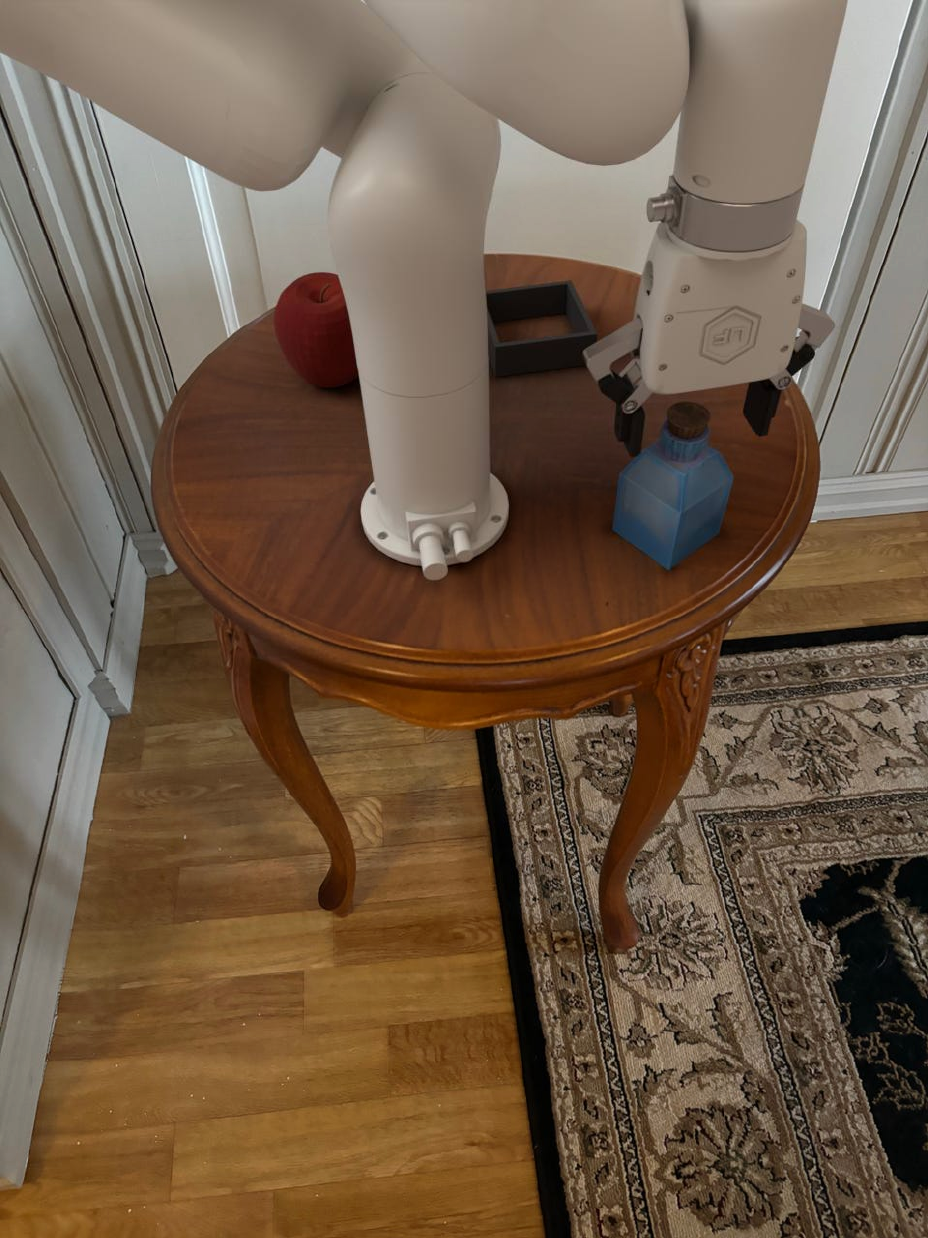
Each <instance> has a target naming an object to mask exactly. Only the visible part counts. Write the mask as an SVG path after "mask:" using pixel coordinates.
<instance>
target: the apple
mask: <svg viewBox="0 0 928 1238" xmlns="http://www.w3.org/2000/svg"><path fill="white" fill-rule="evenodd" d="M273 327H274V332H275V333H274V334H275V336H276V340H277V342H278V345H279V348H280V350H281V352H282V354H283V356H284V357H285V359H286V361H287V363H288V364H289V365H290V367H291V369H293V371H294V372H295V373H296V375H298V376H299V377H300V378H301V379H302V380H303V381H304V382H306V383H308V384H310V385H312V386H314V387H318V388H328V389H329V388H336V387H342V386H345V385H347V384H350V383H351V382H353V381H354V380H356V379H357V378H359V372H358V368H357V362H356V355H355V349H354V342H353V335H352V330H351V324H350V319H349V314H348V309H347V305H346V300H345V297H344V293H343V290H342V286H341V283H340V280H339V277H338V274H337V273H332V272H327V271H317V272H311V273H306V274H303V275H301V276H299V277H297V278H296V279H294V280H293V281H292V282H291V283H290V284H289V285H288V286H286V288H285V289H283V291H282V292H281V294H280V295H279V297H278V300H277V303H276V305H275V307H274V316H273Z"/></svg>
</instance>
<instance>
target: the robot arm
mask: <svg viewBox="0 0 928 1238" xmlns="http://www.w3.org/2000/svg"><path fill="white" fill-rule="evenodd" d="M848 1H849V0H363V1H362V0H0V53H1V54H2V55H4V56H6V57H8V58H10V59H12V60H14V61H16V62H19V63H20V64H22V65H25V66H27V67H28V68H31V69H32V70H33V71H36V72H38V73H40V74H42V75H44V76H45V77H48V78H50V79H52V80H54V81H56V82H58V83H60V84H61V85H63V86H65V87H66V88H68V89H70V90H72V91H74V92H75V93H77V94H79V95H80V96H82V97H84V98H86V99H87V100H89V101H91V103H93V104H95V105H97V106H98V107H100V108H102V109H103V110H105V111H106V112H108V113H109V114H111V115H112V116H114V117H116V118H118V119H119V120H121V121H123V122H125V123H127V124H129V125H130V126H132V127H133V128H134V129H137V130H138V131H141V132H142V133H144V134H146V135H147V136H149V137H151V138H153V139H155V140H156V141H157V142H159V143H162V144H163V145H165V146H167V147H168V148H170V149H172V150H173V151H175V152H177V153H178V154H180V155H182V156H184V157H186V158H187V159H189V160H191V161H192V162H194V163H196V164H198V165H200V167H202V168H204V169H206V170H208V171H210V172H212V173H213V174H215V175H217V176H219V177H220V178H222V179H224V180H226V181H228V182H230V183H232V184H234V185H237V186H239V187H242V188H245V189H249V190H252V191H255V192H272V191H273V192H274V191H279V190H282V189H284V188H286V187H287V186H289V185H290V184H292V183H295V182H296V181H297V180H298V179H299V178H300V177H301V176H302V175H303V174H304V173H305V172H306V171H307V169H308V168H309V167H310V166H311V165H312V163H313V162H314V159H316V157H317V155H318V154H319V152H320V150H321V148H322V149H324V150H326V151H327V152H329V153H331V154H333V155H334V156H336V157H338V158H340V162H339V165H338V166H337V169H336V172H335V175H334V178H333V181H332V185H331V188H330V191H329V198H328V204H327V205H328V206H327V218H326V219H327V236H328V243H329V248H330V252H331V257H332V260H333V264H334V267H335V271H336V274H337V275H338V277H339V280H340V283H341V286H342V290H343V293H344V297H345V300H346V305H347V309H348V314H349V319H350V324H351V330H352V335H353V342H354V349H355V355H356V362H357V368H358V372H359V376H358V379H359V385H360V391H361V392H360V393H361V398H362V406H363V413H364V419H365V427H366V433H367V439H368V440H367V441H368V446H369V447H368V448H369V453H370V461H371V467H372V472H373V474H372V475H373V482H372V483H371V484H370V485H369V487H368V488H367V490H366V491H365V493H364V495H363V498H362V500H361V505H360V516H361V518H360V519H361V524H362V527H363V531H364V534H365V536H366V537H367V539H368V541H369V542H370V543H371V544H372V545H373V546H374V547H375V548H376V549H377V550H378V551H379V552H381V553H382V554H384V555H385V556H387V557H389V558H391V559H394V560H396V561H398V562H401V563H405V564H408V565H411V566H420V567H421V568H422V569H421V570H422V573H423V577H424V578H426V580H429V581H439V580H441V579H443V578H445V577H446V576H447V575H448V572H449V569H448V568H449V567H448V566H449V565H456V564H459V563H467V562H470V561H471V560H472V559H474V558H475V557H477V556H479V555H481V554H483V553H484V552H485V551H487V550H488V549H490V548H491V547H492V546H494V544H495V543H496V542H497V541H498V540H499V539H500V538H501V536H502V535H503V533H504V532H505V529H506V527H507V524H508V521H509V515H510V514H509V513H510V512H509V511H510V503H509V498H508V497H509V496H508V493H507V491H506V489H505V487H504V485H503V484H502V482H501V481H500V480H499V478H497V476H495V475H494V474H493V473H492V472H491V440H490V439H491V438H490V437H491V436H490V434H491V433H490V430H491V429H490V428H491V427H490V369H489V368H490V366H489V365H490V360H489V357H488V324H487V302H486V291H487V290H486V279H485V278H486V277H485V237H486V228H487V218H488V214H489V209H490V205H491V202H492V197H493V192H494V191H493V190H494V185H495V181H496V177H497V174H498V170H499V164H500V161H501V160H500V159H501V149H502V134H501V127H500V122H499V121H501V122H502V123H504V124H506V125H507V126H509V127H511V128H512V129H514V130H515V131H517V132H519V133H520V134H522V135H523V136H525V137H527V138H528V139H530V140H532V141H533V142H535V143H537V144H538V145H540V146H542V147H543V148H546V149H548V150H549V151H551V152H553V153H556V154H557V155H560V156H562V157H564V158H567V159H569V160H571V161H575V162H579V163H582V164H586V165H590V166H591V165H593V166H601V167H607V166H616V165H622V164H625V163H628V162H632V161H635V160H637V159H638V158H640V157H642V156H644V155H646V154H648V153H649V152H650V151H651V150H652V149H654V148H655V147H656V146H657V145H659V144H660V143H661V142H662V141H663V139H665V137H666V136H667V135H668V133H669V132H670V131H671V130H672V128H673V126H674V125H675V123H676V121H677V119H678V118H679V121H678V131H677V139H676V148H675V155H674V163H673V172H672V175H671V174H670V175H669V176H668V182H667V188H666V190H665V193H660V194H659V196H654V197H648V199H647V201H646V216H647V220H648V223H656V222H659V223H658V224H657V227H656V229H655V232H654V234H653V237H652V240H651V243H650V246H649V248H648V251H647V254H646V258H645V262H644V265H643V269H642V272H641V276H640V282H639V285H638V291H637V294H636V301H635V305H634V306H635V307H634V311H633V317H632V320H631V321H629V322H628V323H626V324H625V325H622V326H621V327H619V328H618V329H616V330H615V331H612V332H611V333H610V334H608V335H606V336H604V337H603V338H601V339H599V340H597V342H596V343H594V344H593V345H591V346H589V347H588V348H586V349H585V350H584V351H583V353H582V357H583V359H584V361H585V364H586V365H585V367H586V368H587V369H588V371H589V373H590V375H591V376H592V378H593V380H594V381H595V383H596V385H597V387H598V388H599V391H600V392H601V394H603V395H604V396H605V397H607V398H608V399H609V400H611V401H612V402H613V403H615V412H614V424H613V430H614V436H615V438H616V441H617V442H618V443H621V442H622V443H623V446H624V447H625V449H626V451H627V453H628V456H629V457H630V458H636V457H637V456H638V455H639V454H640V453H641V452H642V445H643V437H644V429H645V423H646V422H645V421H646V413H645V410H644V408H643V406H642V405H644V403H645V402H646V401H648V399H649V398H650V397H651V396H652V395H653V394H656V395H662V396H663V395H677V394H683V393H692V392H698V391H706V390H710V389H711V390H712V389H718V388H723V387H725V388H726V387H731V386H737V385H742V384H748V385H747V390H746V394H745V399H744V403H743V408H742V414H743V416H744V418H745V420H746V421H747V423H748V424H749V426H750V428H751V429H752V431H753V432H754V434H755V435H756V436H758V437H766V436H768V434H769V430H770V426H771V423H772V420H773V419H772V418H775V417H776V414H777V411H778V406H779V402H780V399H781V395H782V391H783V390H786V389H787V388H790V386H791V385H792V384H793V381H794V379H793V377H794V376H795V375H796V374H798V373H799V372H800V371H801V370H802V369H803V368H804V367H805V366H807V365H808V364H810V362H812V361H813V360H814V358H815V356H816V350H817V349H819V348H820V347H821V346H822V345H823V343H824V342H825V341H826V340H827V339H828V337H829V336H830V335H831V333H832V332H833V331H834V329H835V327H836V324H835V321H834V320H833V319H832V318H831V317H830V315H829V314H828V313H827V312H826V311H823V310H821V309H818V308H816V307H813V306H811V305H808V304H805V303H803V299H804V293H805V292H804V291H805V283H806V270H807V269H806V268H807V250H808V247H807V246H808V245H807V244H808V233H807V231H808V230H807V228H806V226H805V225H804V224H803V223H802V222H801V221H799V220H798V214H799V210H800V205H801V201H802V197H803V192H804V188H805V185H806V180H807V176H808V173H809V168H810V164H811V160H812V156H813V152H814V148H815V147H814V146H815V144H816V143H815V142H816V138H817V135H818V130H819V125H820V122H821V117H822V113H823V109H824V105H825V104H824V103H825V100H826V97H827V92H828V88H829V84H830V79H831V76H832V71H833V67H834V63H835V59H836V54H837V50H838V46H839V42H840V37H841V33H842V30H843V29H842V28H843V26H844V21H845V17H846V12H847V7H848ZM798 329H800V332H799V333H798ZM797 333H798V334H797ZM797 335H798V336H797ZM629 353H630V357H631V358H632V360H631V361H630V362H629V363H628V364H627V365H626V366H625V367H624V368H623V369H622V370H621V371H620V372H619V373H617V372H616V371H614V370H613V369H611V365H612V364H613V363H614V362H615V361H617V360H619V359H621V358H622V357H624V356H626V355H628V354H629Z"/></svg>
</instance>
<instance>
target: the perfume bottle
mask: <svg viewBox="0 0 928 1238" xmlns="http://www.w3.org/2000/svg"><path fill="white" fill-rule="evenodd" d="M710 421H711V412H710V411H709V409H708V408H706V407H705V406H704V405H702V404H700V403H698V402H694V401H693V402H692V401H679V402H675V403H673V404H671V405H670V406H668V408H667V410H666V419H664V421H663V423H662V425H661V430H660V438H659V439H658V440H656V441H654V442H653V443H651V444H650V445H648V446H646V447H645V448H644V449H642V450H641V453H640V454H638V456H636V457H634V459H632V461H630V462H629V464H628V465H627V466H626V467H625V468H623V470H622V471H621V472H620V473H619V476H618V483H617V493H616V499H615V507H614V513H613V520H612V529H611V531H613V532H614V533H615V534H618V535H619V536H620V537H621V538H622V539H624V540H626V541H627V542H628V543H629V544H631V545H632V546H634V547H635V548H636V549H638V550H639V551H641V552H642V553H643V554H645V555H646V556H648V557H649V558H650V559H652V560H653V561H654V562H655V563H657V564H658V565H660V566H661V567H663V568H664V569H666V570H667V571H670V570H671V569H673V568H674V567H675V566H677V565H678V564H680V563H681V562H683V561H684V560H685V559H686V558H688V557H689V556H690V555H692V554H693V553H695V552H696V551H698V549H700V548H701V547H703V546H704V545H705V544H707V543H708V542H710V541H711V540H713V539H714V538H715V537H716V536H718V535H720V531H721V527H722V523H723V519H724V516H725V511H726V507H727V505H728V504H727V503H728V501H729V496H730V493H731V489H732V485H733V481H734V477H735V476H734V475H733V473H732V471H731V470H730V468H729V466H728V464H727V463H726V460H725V459H724V457H723V455H722V454H721V452H720V451H719V450H717V449H716V448H714V447H712V446H711V445H710V444H707V443H708V440H709V435H710V426H709V422H710Z"/></svg>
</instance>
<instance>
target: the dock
mask: <svg viewBox="0 0 928 1238" xmlns="http://www.w3.org/2000/svg"><path fill="white" fill-rule="evenodd" d="M486 302H487V324H488V357H489V364H490V365H491V368H492V371H493V374H494V377H495V378H500V377H501V378H502V377H510V376H516V375H522V374H523V375H524V374H530V373H537V372H538V373H539V372H545V371H553V370H561V369H568V368H575V367H583V366H586V364H585V361H584V359H583V357H582V353H583V351H584V350H585V349H586V348H588V347H589V346H591V345H593V344H594V343H596V342H598V332H597V330H596V328H595V325H594V324H593V322H592V320H591V318H590V316H589V314H588V312H587V310H586V308H585V305H584V303H583V301H582V299H581V297H580V295H579V293H578V291H577V289H576V287H575V285H574V283H573V280H571V279H569V280H562V281H554V282H553V281H552V282H545V283H538V284H537V283H536V284H530V285H523V286H522V285H521V286H513V287H506V288H498V289H490V290H486ZM564 314H565V315H566V318H567V320H568V322H569V324H570V327H571V328H572V331H573V333H567V334H566V333H565V334H559V335H550V336H544V337H537V338H530V339H528V338H527V339H521V340H520V339H519V340H513V341H505V342H500V339H499V337H498V333H497V332H496V328H495V325H494V324H495V323H503V322H510V321H518V320H519V321H520V320H525V319H535V318H542V317H549V316H557V315H564Z"/></svg>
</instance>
